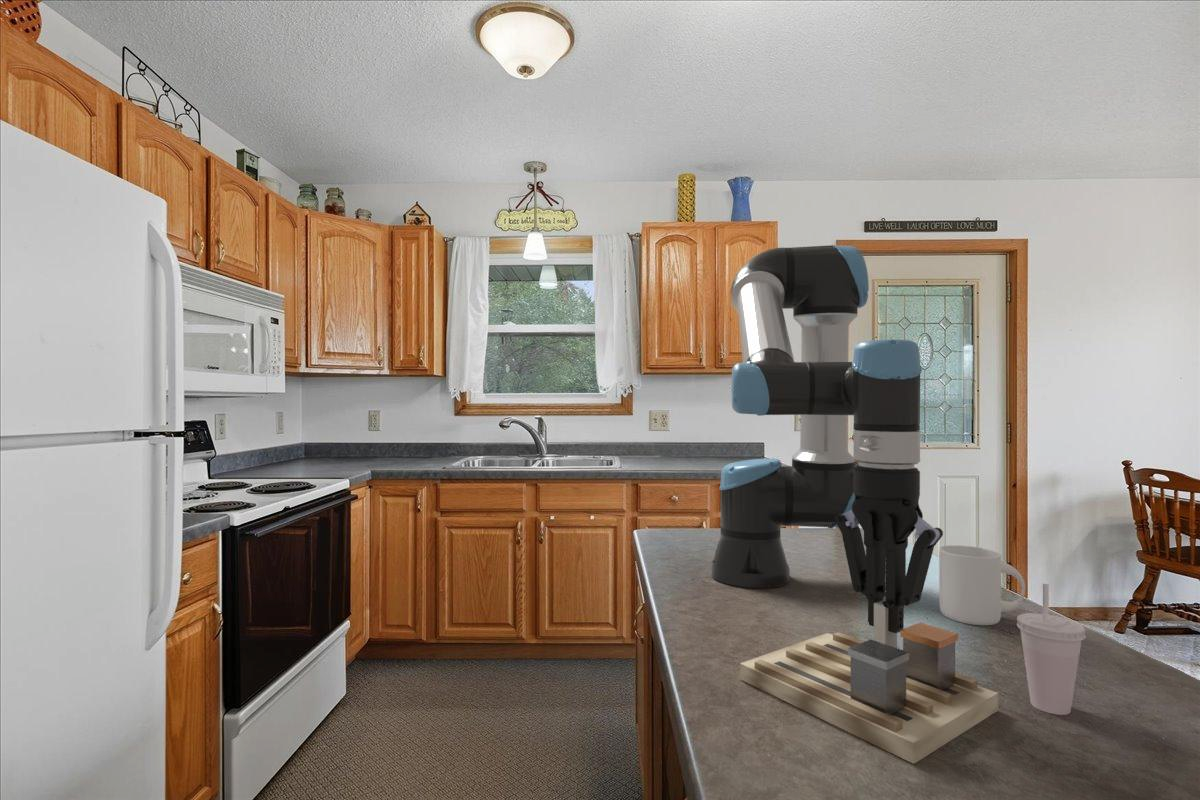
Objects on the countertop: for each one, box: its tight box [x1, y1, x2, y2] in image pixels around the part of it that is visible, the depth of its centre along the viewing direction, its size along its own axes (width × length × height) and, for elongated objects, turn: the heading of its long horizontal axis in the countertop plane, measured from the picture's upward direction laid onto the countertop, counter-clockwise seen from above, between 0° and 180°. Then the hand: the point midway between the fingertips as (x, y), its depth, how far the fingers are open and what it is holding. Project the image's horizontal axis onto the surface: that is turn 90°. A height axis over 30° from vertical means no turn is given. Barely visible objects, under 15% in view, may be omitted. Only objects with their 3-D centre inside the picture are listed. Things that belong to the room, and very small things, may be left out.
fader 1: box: [848, 639, 909, 715], centre depth 66 cm, size 4×4×6 cm
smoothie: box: [1016, 583, 1087, 716], centre depth 70 cm, size 6×6×14 cm
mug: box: [938, 544, 1026, 626], centre depth 100 cm, size 9×12×11 cm
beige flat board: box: [739, 632, 999, 765], centre depth 73 cm, size 22×18×3 cm
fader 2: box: [899, 622, 959, 690], centre depth 72 cm, size 4×4×6 cm
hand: (885, 655), depth 76 cm, fingers closed
